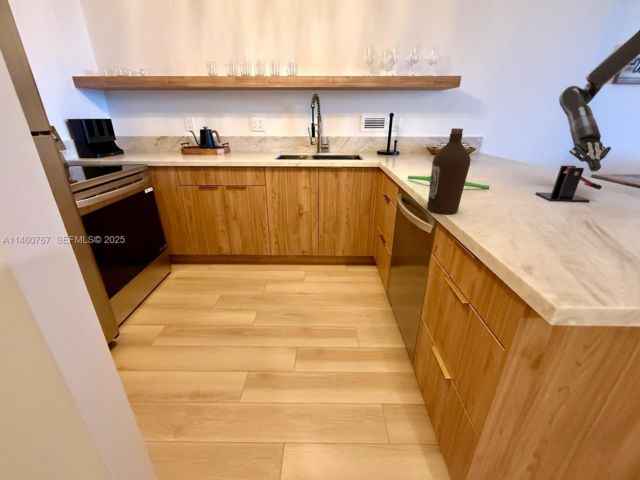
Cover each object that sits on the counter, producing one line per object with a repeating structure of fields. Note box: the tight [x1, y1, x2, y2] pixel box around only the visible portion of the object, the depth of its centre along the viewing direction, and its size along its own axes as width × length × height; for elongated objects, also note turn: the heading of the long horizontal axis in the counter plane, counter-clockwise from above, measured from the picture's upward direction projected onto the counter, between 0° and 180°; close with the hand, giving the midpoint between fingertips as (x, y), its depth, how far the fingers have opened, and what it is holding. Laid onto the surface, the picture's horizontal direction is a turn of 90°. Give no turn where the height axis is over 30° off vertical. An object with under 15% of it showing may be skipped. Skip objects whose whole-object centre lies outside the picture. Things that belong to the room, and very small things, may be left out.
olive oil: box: [426, 127, 471, 215], centre depth 89 cm, size 11×11×25 cm
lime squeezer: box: [407, 175, 490, 190], centre depth 121 cm, size 34×12×6 cm, turn 59°
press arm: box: [563, 167, 603, 190], centre depth 102 cm, size 12×6×2 cm, turn 83°
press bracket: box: [534, 165, 591, 204], centre depth 103 cm, size 13×9×12 cm
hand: (595, 170), depth 102 cm, fingers closed
